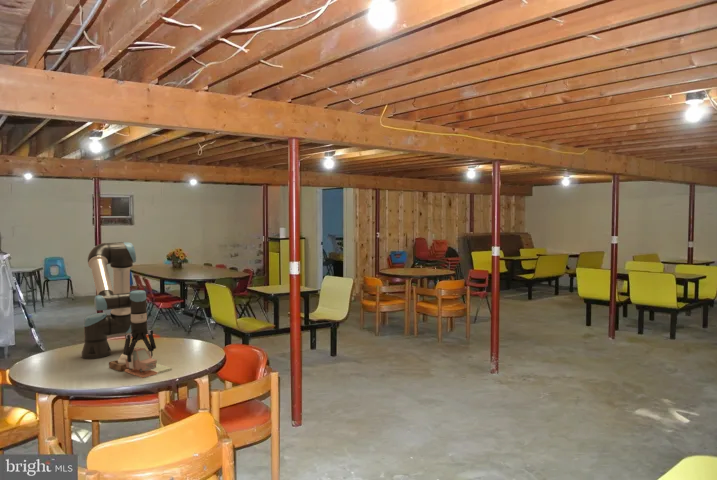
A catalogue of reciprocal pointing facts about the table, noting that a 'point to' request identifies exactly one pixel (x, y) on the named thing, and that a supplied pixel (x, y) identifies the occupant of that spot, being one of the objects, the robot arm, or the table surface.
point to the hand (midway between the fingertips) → (140, 365)
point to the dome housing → (117, 366)
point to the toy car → (142, 360)
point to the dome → (122, 359)
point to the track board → (149, 371)
